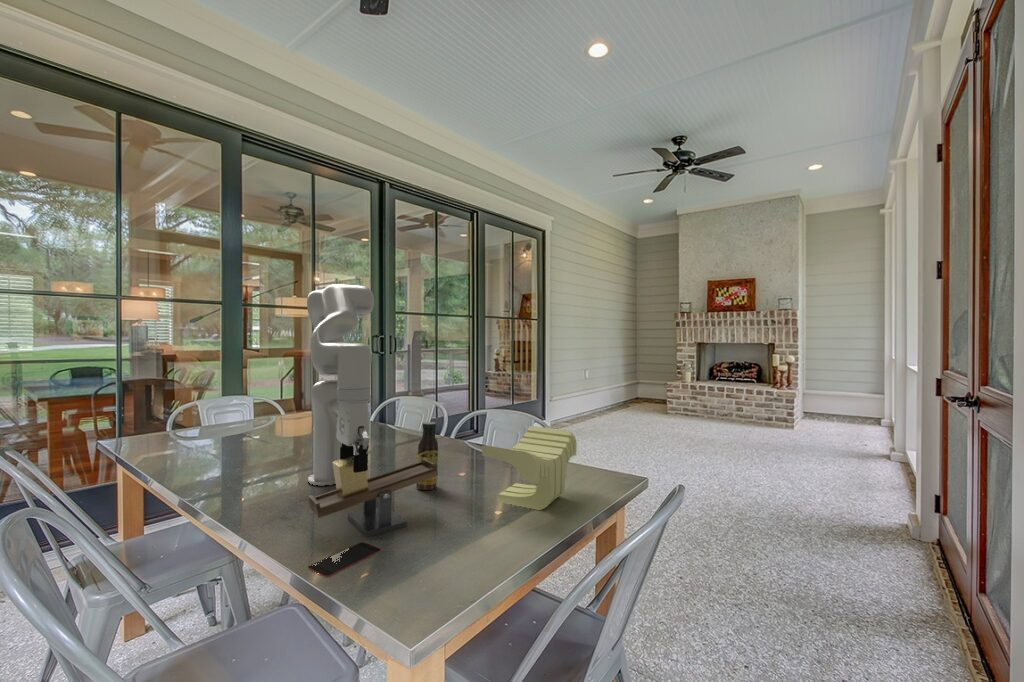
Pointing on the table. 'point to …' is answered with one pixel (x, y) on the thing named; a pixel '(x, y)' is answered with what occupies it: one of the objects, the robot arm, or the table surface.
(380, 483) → the brown long channel
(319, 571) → the smartphone
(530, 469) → the slatted curved stool
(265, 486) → the table surface
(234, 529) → the table surface
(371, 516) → the beam stand
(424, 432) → the sauce bottle
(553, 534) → the table surface
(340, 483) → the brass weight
